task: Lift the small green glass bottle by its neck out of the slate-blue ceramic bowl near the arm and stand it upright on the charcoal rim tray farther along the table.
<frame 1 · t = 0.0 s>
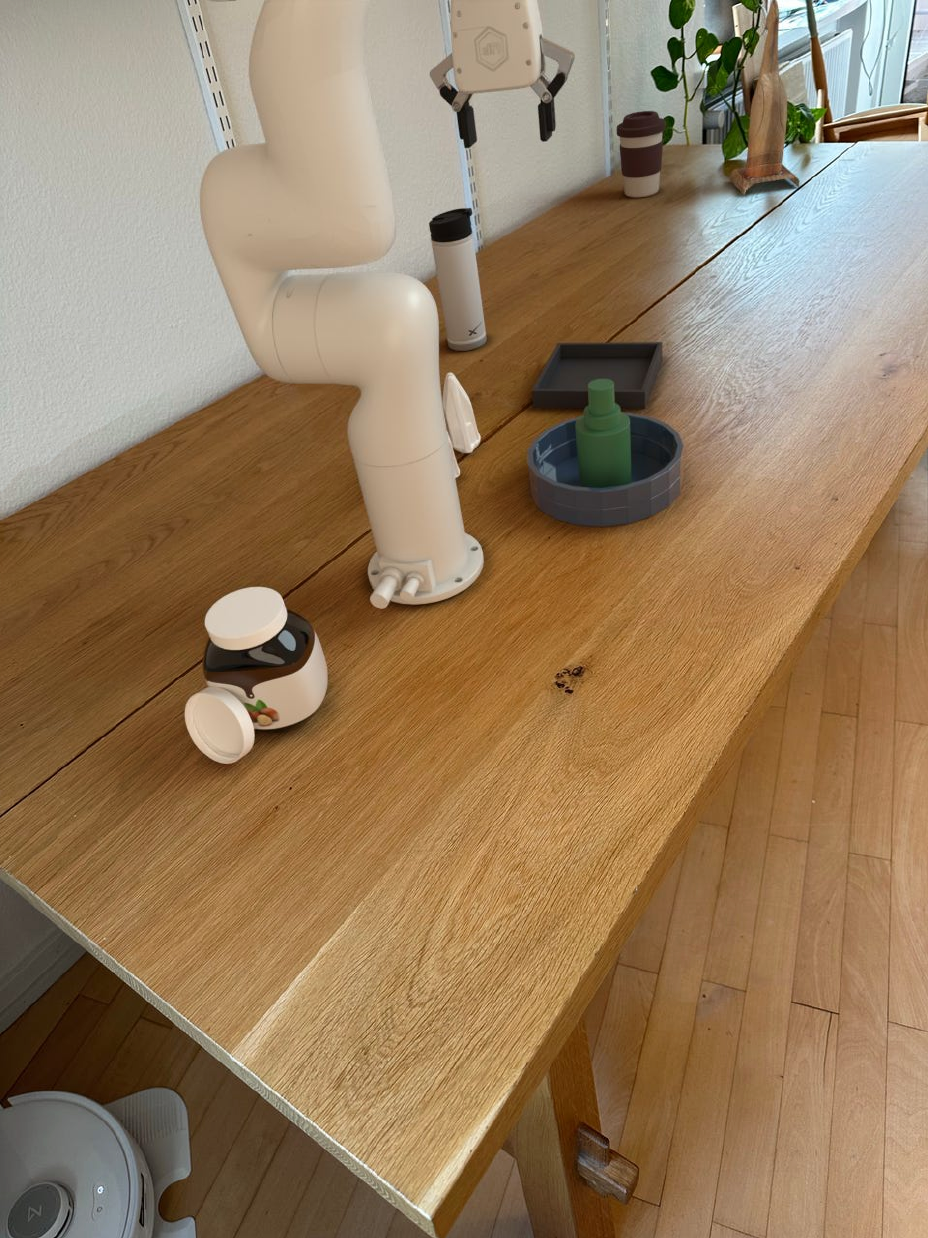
hand: (508, 141, 106), 31 cm above the table, tool pointing down, fingers open, 9 cm apart
tray: (599, 384, 122), on the table
white fin shape: (456, 463, 111), on the table
spread jar: (268, 723, 80), on the table
bottle: (605, 483, 101), resting on bowl
travel mug: (468, 344, 140), on the table
bird sculpture: (763, 186, 179), on the table
bowl: (605, 486, 102), on the table
coffee cup: (641, 193, 188), on the table
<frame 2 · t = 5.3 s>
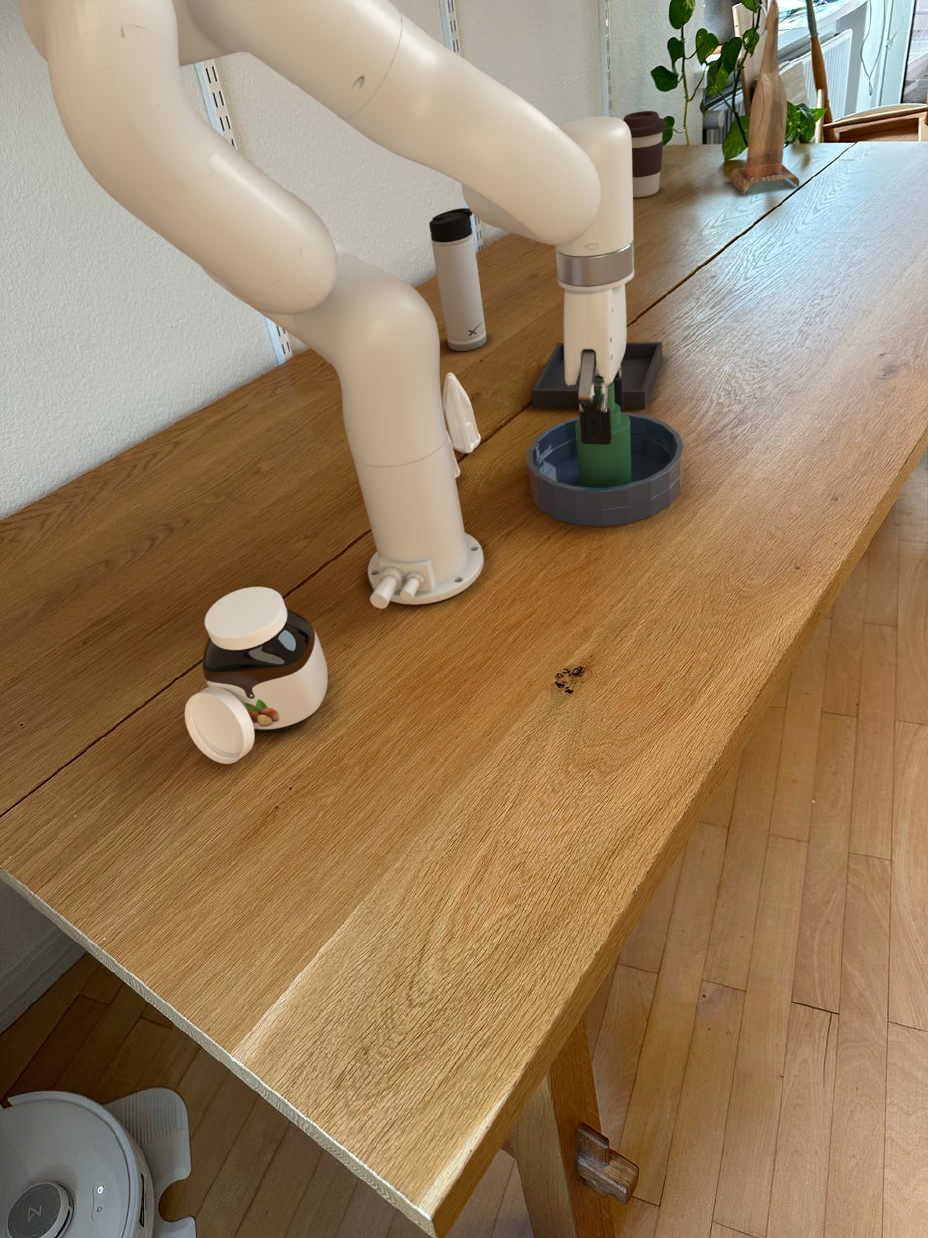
hand: (602, 426, 97), 8 cm above the table, tool pointing down, fingers closed on bottle, 6 cm apart
bottle: (605, 483, 101), resting on bowl, touching gripper
everything else where it was.
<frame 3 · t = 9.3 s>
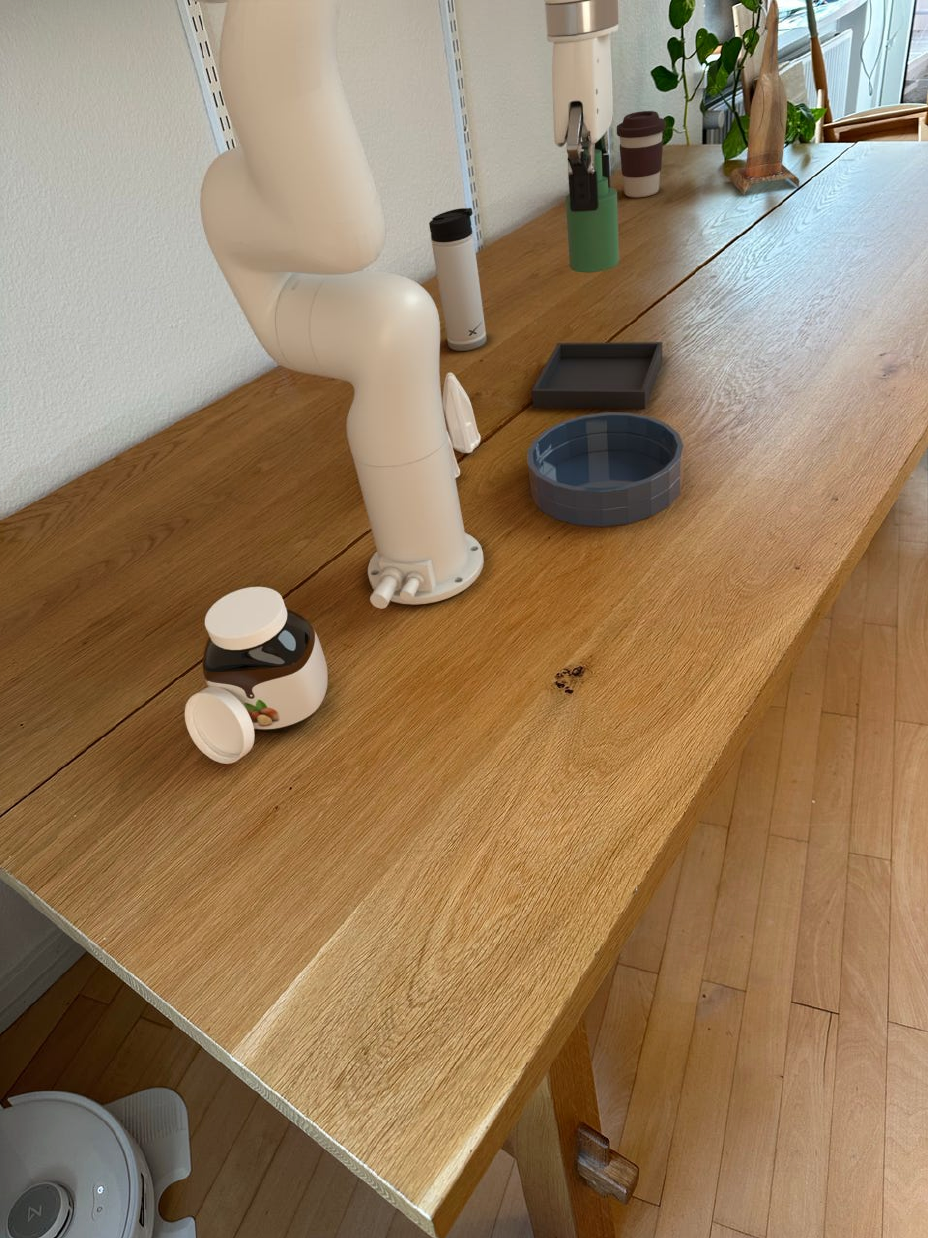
hand: (590, 199, 103), 25 cm above the table, tool pointing down, fingers closed on bottle, 6 cm apart
bottle: (594, 263, 107), point 18 cm above the table, touching gripper
everything else where it was.
when the fingers open (8 cm above the table, at t = 13.8 s): bottle stays where it is, resting on tray.
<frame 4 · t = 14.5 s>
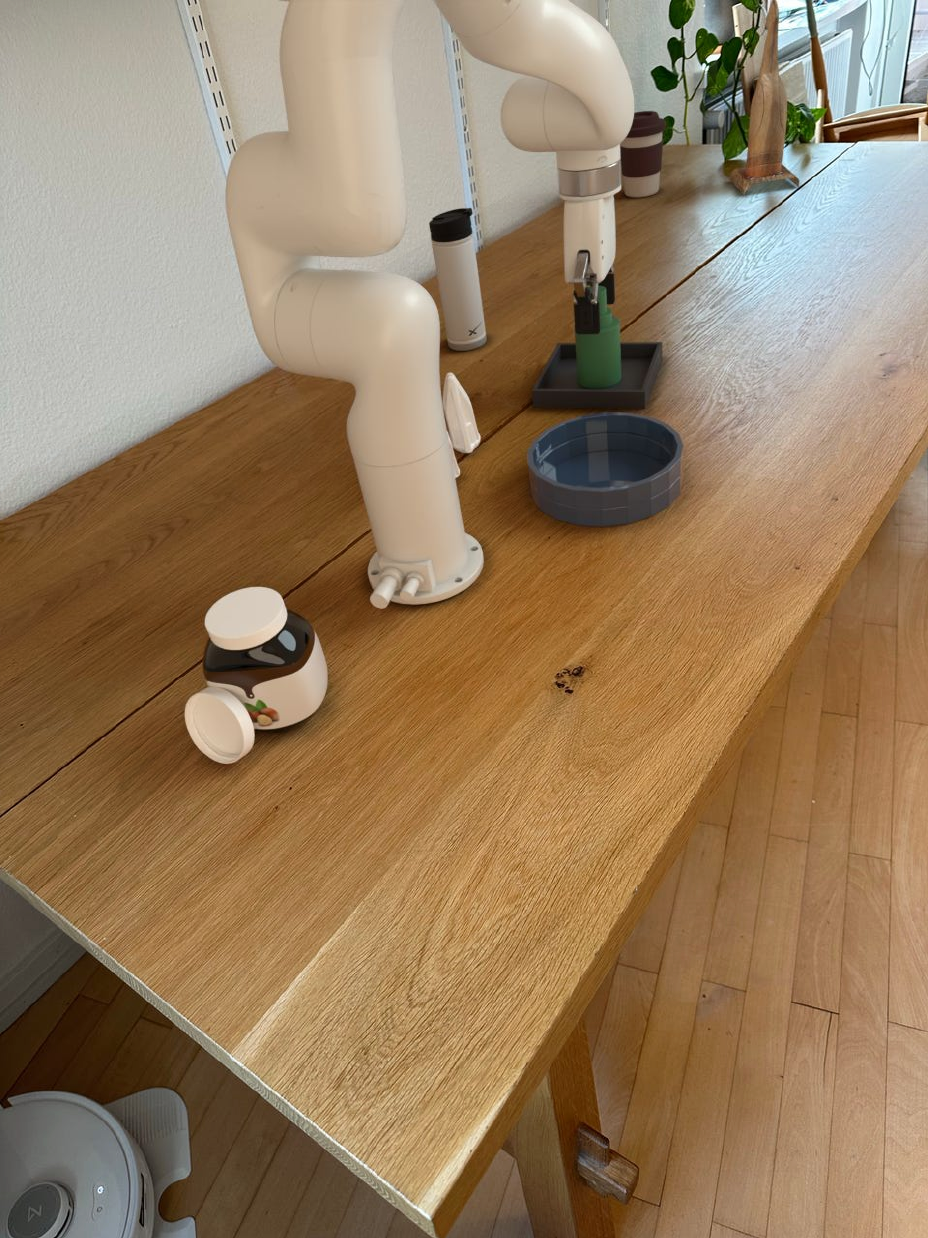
hand: (595, 317, 116), 10 cm above the table, tool pointing down, fingers open, 9 cm apart
bottle: (599, 378, 121), point 1 cm above the table, touching tray
everything else where it was.
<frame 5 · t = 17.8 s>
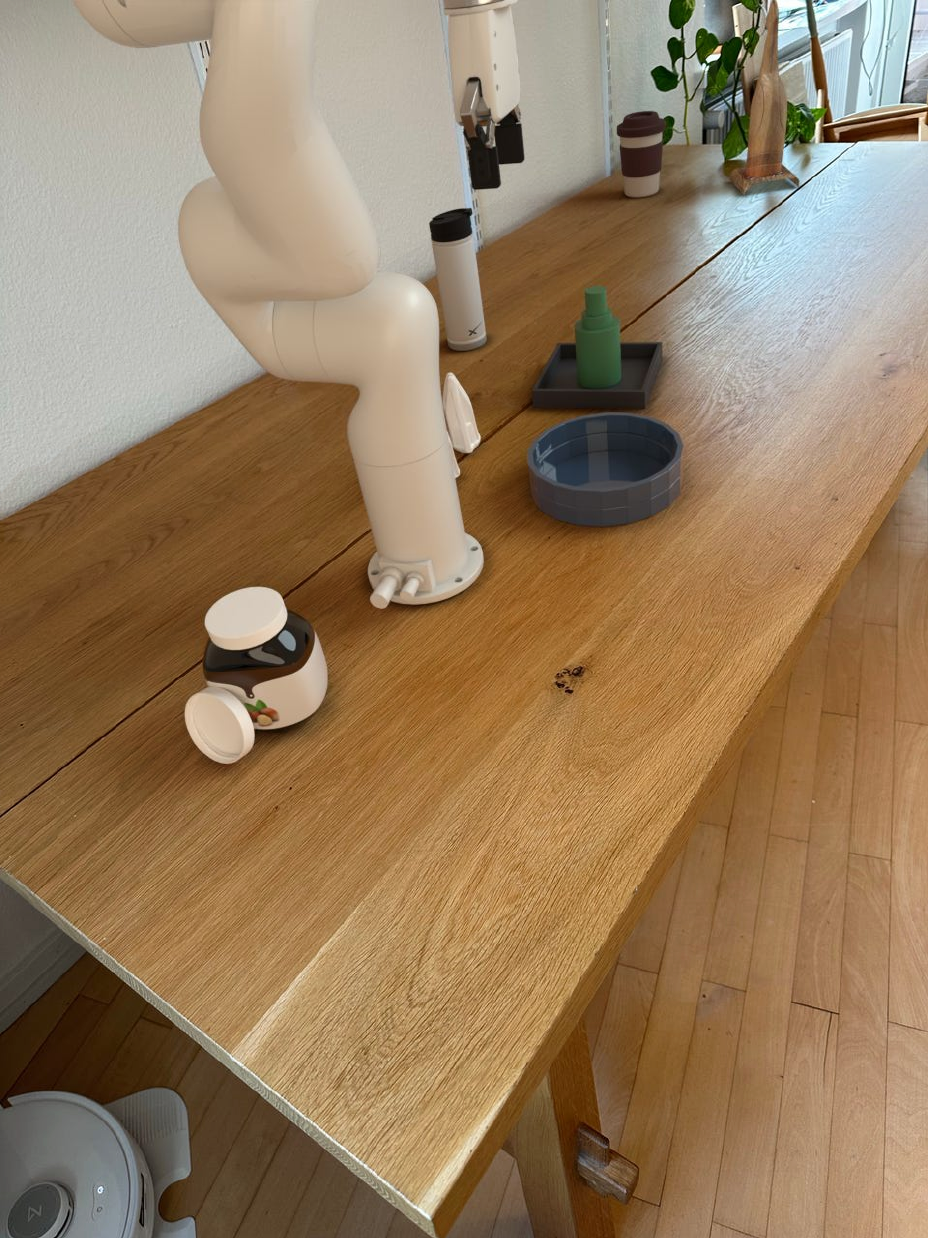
hand: (499, 175, 98), 30 cm above the table, tool pointing down, fingers open, 9 cm apart
nothing on the table moved.
at the end: bottle inside the target area in the tray (0.1 cm from its centre), point 0.8 cm above the tray's base; bottle tilted 0°; the gripper is holding nothing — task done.
